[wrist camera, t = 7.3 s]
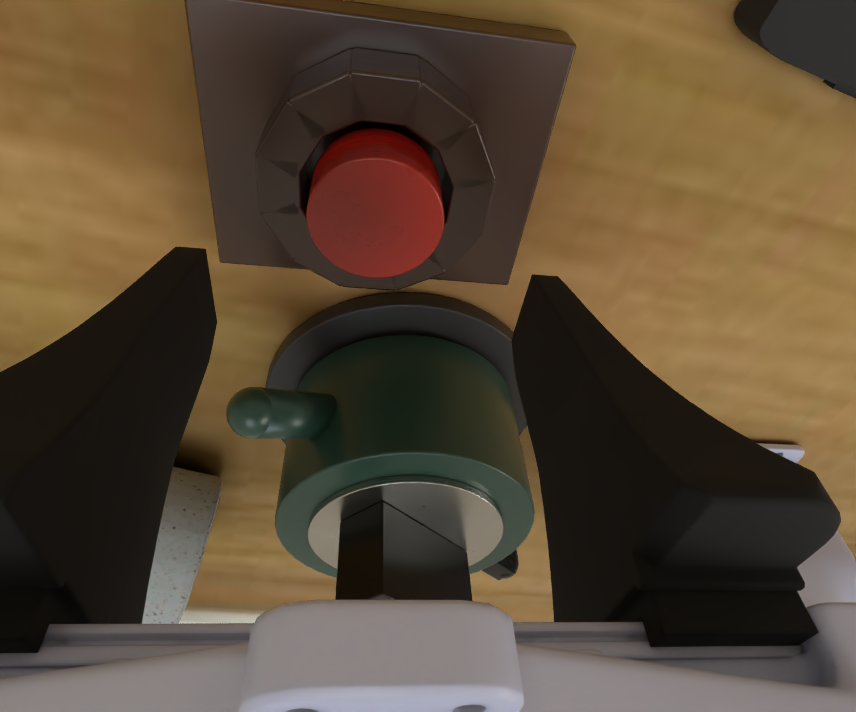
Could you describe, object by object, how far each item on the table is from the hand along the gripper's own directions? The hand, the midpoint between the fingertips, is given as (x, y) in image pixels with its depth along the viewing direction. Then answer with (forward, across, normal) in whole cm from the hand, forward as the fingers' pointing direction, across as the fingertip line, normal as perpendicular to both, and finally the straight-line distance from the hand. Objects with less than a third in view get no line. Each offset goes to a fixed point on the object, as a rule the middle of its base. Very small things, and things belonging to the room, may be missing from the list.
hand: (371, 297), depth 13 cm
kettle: (+6, -2, +11) cm, 13 cm away
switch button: (+5, 0, 0) cm, 5 cm away
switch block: (+7, 0, 0) cm, 7 cm away
